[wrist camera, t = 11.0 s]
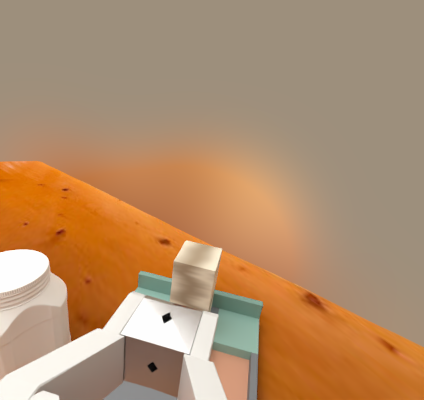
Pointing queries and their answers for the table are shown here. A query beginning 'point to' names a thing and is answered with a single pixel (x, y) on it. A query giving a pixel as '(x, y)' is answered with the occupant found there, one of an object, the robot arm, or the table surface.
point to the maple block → (195, 275)
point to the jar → (30, 309)
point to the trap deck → (222, 346)
